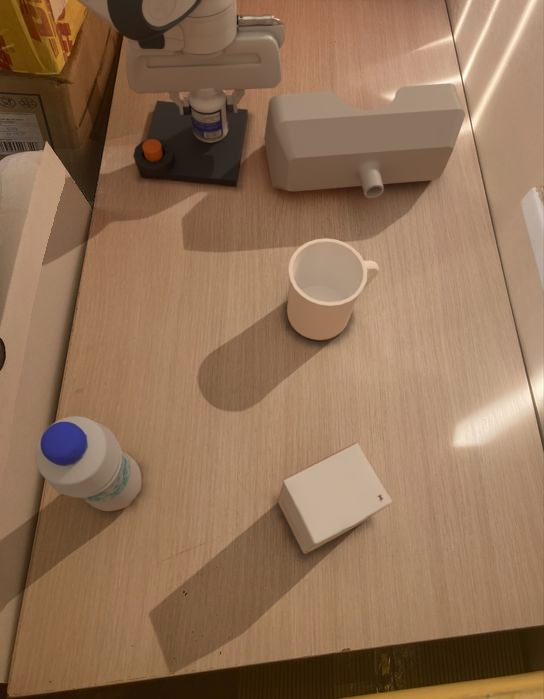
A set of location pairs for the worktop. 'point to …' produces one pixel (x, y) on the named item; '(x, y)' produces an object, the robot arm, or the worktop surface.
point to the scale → (192, 149)
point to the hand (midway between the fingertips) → (208, 111)
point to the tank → (361, 139)
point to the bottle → (87, 463)
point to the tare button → (152, 150)
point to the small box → (331, 497)
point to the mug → (325, 287)
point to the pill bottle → (209, 114)
